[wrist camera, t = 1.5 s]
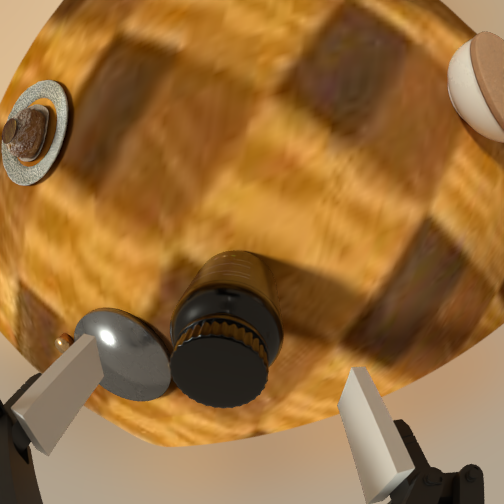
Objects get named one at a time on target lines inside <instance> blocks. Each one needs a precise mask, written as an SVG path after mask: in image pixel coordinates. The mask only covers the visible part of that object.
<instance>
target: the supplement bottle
mask: <svg viewBox="0 0 504 504" xmlns="http://www.w3.org/2000/svg"><path fill="white" fill-rule="evenodd" d="M170 335H171V340H172V344H173V346H174V349H173V352H172V354H171V357H170V361H171V362H170V364H169V367H170V369H171V372H170V374H171V375H172V377H173V381H174V382H175V383H176V384H177V387H178V388H179V389H181V390H182V392H183V393H184V394H186V395H187V396H188V397H189V398H191V399H193V400H195V401H196V402H198V403H202V404H204V405H206V406H212V407H214V408H216V407H220V408H227V407H228V408H233V407H236V406H242V405H243V404H247V403H249V402H250V401H252V400H254V399H255V398H256V396H258V395H260V394H261V391H262V390H263V389H264V388H265V384H266V383H267V381H268V373H269V367H270V366H271V365H272V364H273V363H274V361H275V360H276V359H277V357H278V355H279V353H280V351H281V348H282V344H283V337H284V332H283V322H282V316H281V310H280V305H279V299H278V293H277V287H276V283H275V279H274V276H273V274H272V272H271V270H270V269H269V267H268V266H267V265H266V264H265V263H264V262H263V261H262V260H261V259H260V258H258V257H257V256H255V255H253V254H250V253H247V252H244V251H226V252H222V253H219V254H217V255H215V256H213V257H212V258H211V259H209V260H208V261H207V262H206V263H205V264H204V265H203V267H202V268H201V269H200V270H199V272H198V273H197V275H196V276H195V278H194V279H193V281H192V282H191V284H190V285H189V287H188V288H187V290H186V291H185V293H184V294H183V296H182V297H181V299H180V300H179V302H178V304H177V305H176V307H175V309H174V311H173V314H172V317H171V322H170Z"/></svg>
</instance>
